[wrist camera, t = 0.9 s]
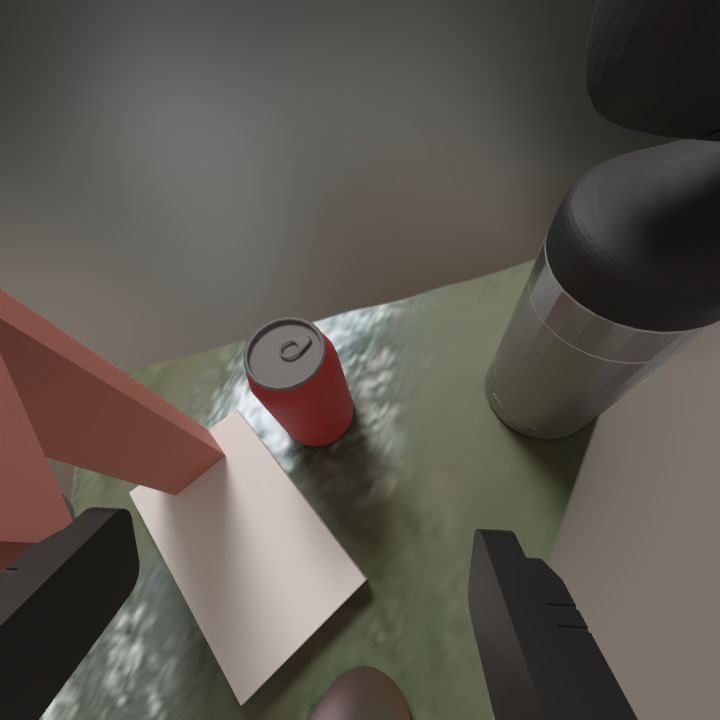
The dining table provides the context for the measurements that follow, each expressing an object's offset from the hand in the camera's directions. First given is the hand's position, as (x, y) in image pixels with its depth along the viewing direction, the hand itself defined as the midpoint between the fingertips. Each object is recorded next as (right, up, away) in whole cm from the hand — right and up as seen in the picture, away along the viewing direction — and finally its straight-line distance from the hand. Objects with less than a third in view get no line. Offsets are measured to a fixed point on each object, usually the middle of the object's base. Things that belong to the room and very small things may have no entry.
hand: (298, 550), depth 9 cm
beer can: (-2, -1, +27) cm, 28 cm away
